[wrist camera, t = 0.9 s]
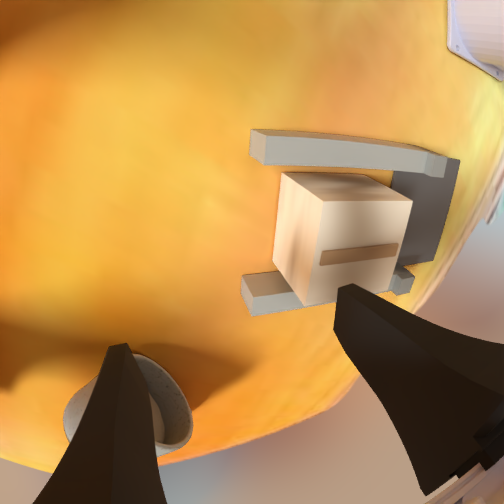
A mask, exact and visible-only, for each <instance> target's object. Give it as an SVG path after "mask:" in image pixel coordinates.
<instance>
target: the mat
mask: <svg viewBox="0 0 504 504" xmlns="http://www.w3.org/2000/svg"><path fill="white" fill-rule="evenodd" d="M459 165H460V160H457V159H452V158H447V163H446V168H445V173H444V178H440V177H431V176H428V175H426V174H424V173H416V172H406V171H394V173H393V178H392V183H391V188H390V189H392V190H394V191H396V192H398V193H399V194H401V195H403V196H405V197H407V198H409V199H410V200H412V201H413V203H412V207H411V211H410V215H409V219H408V223H407V227H406V231H405V234H404V238H403V241H402V245H401V249H400V252H399V255H398V259H397V262H398V263H400V264H401V265H402V266H405V265H411V264H417V263H423V262H428V261H433V260H434V257H435V254H436V251H437V247H438V244H439V241H440V238H441V235H442V231H443V228H444V225H445V221H446V218H447V214H448V211H449V207H450V203H451V199H452V195H453V191H454V187H455V183H456V179H457V174H458V170H459Z"/></svg>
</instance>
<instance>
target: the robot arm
mask: <svg viewBox="0 0 504 504" xmlns="http://www.w3.org/2000/svg"><path fill="white" fill-rule="evenodd" d="M447 1H448V32H447V47H448V49H449V50H450V51H451V52H453V53H455V54H457V55H458V56H460V57H462V58H464V59H465V60H467V61H469V62H471V63H472V64H474V65H476V66H477V67H479V68H480V69H482V70H484V71H485V72H487V73H488V74H490V75H491V76H493V77H494V78H496V79H497V80H499V81H503V80H504V0H447ZM333 330H334V332H335V334H336V336H337V338H338V340H339V342H340V344H341V345H342V347H343V349H344V351H345V352H346V354H347V355H348V357H349V358H350V360H351V361H352V362H353V364H354V365H355V366H356V368H357V369H358V371H359V372H360V373H361V375H362V376H363V377H364V379H365V380H366V381H367V383H368V384H369V386H370V387H371V388H372V390H373V391H374V392H375V393H376V395H377V397H378V398H379V400H380V401H381V403H382V404H383V406H384V408H385V409H386V411H387V413H388V415H389V417H390V419H391V420H392V422H393V424H394V426H395V428H396V430H397V432H398V434H399V436H400V438H401V440H402V442H403V445H404V447H405V449H406V451H407V454H408V456H409V458H410V461H411V463H412V466H413V469H414V471H415V474H416V477H417V480H418V483H419V486H420V489H421V490H422V492H423V493H424V495H425V496H427V495H429V494H430V493H432V492H433V491H435V490H436V489H437V488H439V487H440V486H441V485H443V484H444V483H446V482H447V481H448V480H450V479H451V478H452V477H454V476H455V475H457V477H458V478H459V479H458V480H457V481H456V482H454V483H453V484H452V485H451V486H449V487H448V488H447V489H445V490H444V491H443V492H441V493H440V494H438V495H437V496H435V497H434V498H433V499H431V500H430V501H428V502H427V503H425V504H504V344H500V343H494V342H489V341H485V340H481V339H477V338H473V337H470V336H466V335H463V334H460V333H457V332H454V331H451V330H449V329H446V328H443V327H440V326H438V325H436V324H433V323H431V322H429V321H427V320H424V319H422V318H420V317H418V316H416V315H414V314H412V313H410V312H408V311H406V310H404V309H402V308H400V307H398V306H396V305H394V304H392V303H390V302H388V301H386V300H384V299H383V298H381V297H379V296H377V295H375V294H373V293H371V292H369V291H368V290H366V289H364V288H362V287H360V286H358V285H356V284H354V283H351V284H348V285H345V286H342V287H339V288H338V292H337V302H336V311H335V320H334V329H333ZM33 504H167V502H166V498H165V495H164V491H163V487H162V483H161V480H160V475H159V470H158V464H157V455H156V447H155V437H154V427H153V417H152V407H151V402H150V397H149V392H148V387H147V381H146V380H145V378H144V376H143V374H142V372H141V370H140V368H139V366H138V364H137V362H136V360H135V358H134V356H133V354H132V352H131V350H130V348H129V346H128V344H127V343H123V344H118V345H114V346H110V347H109V348H108V350H107V353H106V356H105V358H104V361H103V364H102V367H101V370H100V372H99V375H98V378H97V380H96V383H95V386H94V388H93V391H92V393H91V396H90V399H89V401H88V404H87V406H86V409H85V411H84V413H83V415H82V418H81V420H80V422H79V425H78V427H77V429H76V431H75V434H74V436H73V438H72V440H71V442H70V444H69V446H68V448H67V450H66V452H65V454H64V455H63V457H62V459H61V461H60V462H59V464H58V466H57V468H56V469H55V471H54V473H53V474H52V476H51V478H50V479H49V481H48V482H47V484H46V485H45V487H44V488H43V490H42V491H41V492H40V494H39V495H38V497H37V498H36V500H35V501H34V502H33Z"/></svg>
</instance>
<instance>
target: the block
mask: <svg viewBox="0 0 504 504" xmlns="http://www.w3.org/2000/svg"><path fill="white" fill-rule="evenodd" d="M412 203H413V201H412V200H410V199H409V198H407V197H405V196H403V195H401V194H399V193H398V192H396V191H394V190H392V189H390V188H388V187H386V186H385V185H383V184H381V183H379V182H377V181H375V180H373V179H371V178H369V177H367V176H365V175H363V174H341V173H297V172H282V175H281V185H280V195H279V205H278V214H277V224H276V233H275V242H274V252H273V262H274V264H275V265H276V267H277V268H278V269H279V271H280V272H281V274H282V275H283V277H284V278H285V279H286V281H287V282H288V284H289V285H290V286H291V288H292V289H293V291H294V292H295V294H296V295H297V296H298V298H299V299H300V301H301V302H302V304H303V305H304V306H310V305H315V304H321V303H326V302H332V301H337V292H338V288H339V287H342V286H345V285H348V284H351V283H354V284H356V285H358V286H360V287H362V288H364V289H366V290H368V291H369V292H371V293H377V292H382V291H387V290H388V287H389V284H390V281H391V278H392V275H393V272H394V269H395V265H396V262H397V259H398V255H399V252H400V249H401V245H402V241H403V238H404V234H405V231H406V227H407V223H408V219H409V215H410V211H411V207H412Z"/></svg>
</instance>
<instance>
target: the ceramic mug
mask: <svg viewBox="0 0 504 504" xmlns="http://www.w3.org/2000/svg"><path fill="white" fill-rule="evenodd" d="M133 356H134V358H135V360H136V362H137V364H138V366H139V368H140V370H141V372H142V374H143V376H144V378H145V380H146V381H147V387H148V392H149V397H150V402H151V407H152V417H153V427H154V437H155V447H156V455H157V457H159V456H162V455H165V454H168V453H170V452H173V451H175V450H178V449H180V448H181V447H183V446H184V445H185V444H186V443H187V442H188V441H189V439H190V438H191V435H192V431H193V418H192V411H191V409H190V407H189V404H188V402H187V400H186V397H185V395H184V394H183V392H182V390H181V389H180V387H179V386H178V384H177V383H176V382H175V380H174V379H173V378H172V377H171V375H170V374H169V373H168V372H167V371H166V370H165V369H163V368H162V367H161V366H160V365H159V364H157V363H156V362H154V361H153V360H151V359H149V358H148V357H145V356H143V355H139V354H133ZM97 378H98V376H96V377H95V378H94V379H93V380H92V381H90V382H89V383H88V384H87V385H86V386H84V387H83V388H81V389H80V390H79V391H78V392H77V393H75V395H74V396H73V397H72V398H71V399H70V401H69V403H68V404H67V406H66V408H65V411H64V416H63V424H64V431H65V434H66V437H67V439H68V441H69V443H70V442H71V440H72V438H73V436H74V434H75V431H76V429H77V427H78V425H79V422H80V420H81V418H82V415H83V413H84V411H85V409H86V406H87V404H88V401H89V399H90V396H91V393H92V391H93V388H94V386H95V383H96V380H97Z"/></svg>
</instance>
